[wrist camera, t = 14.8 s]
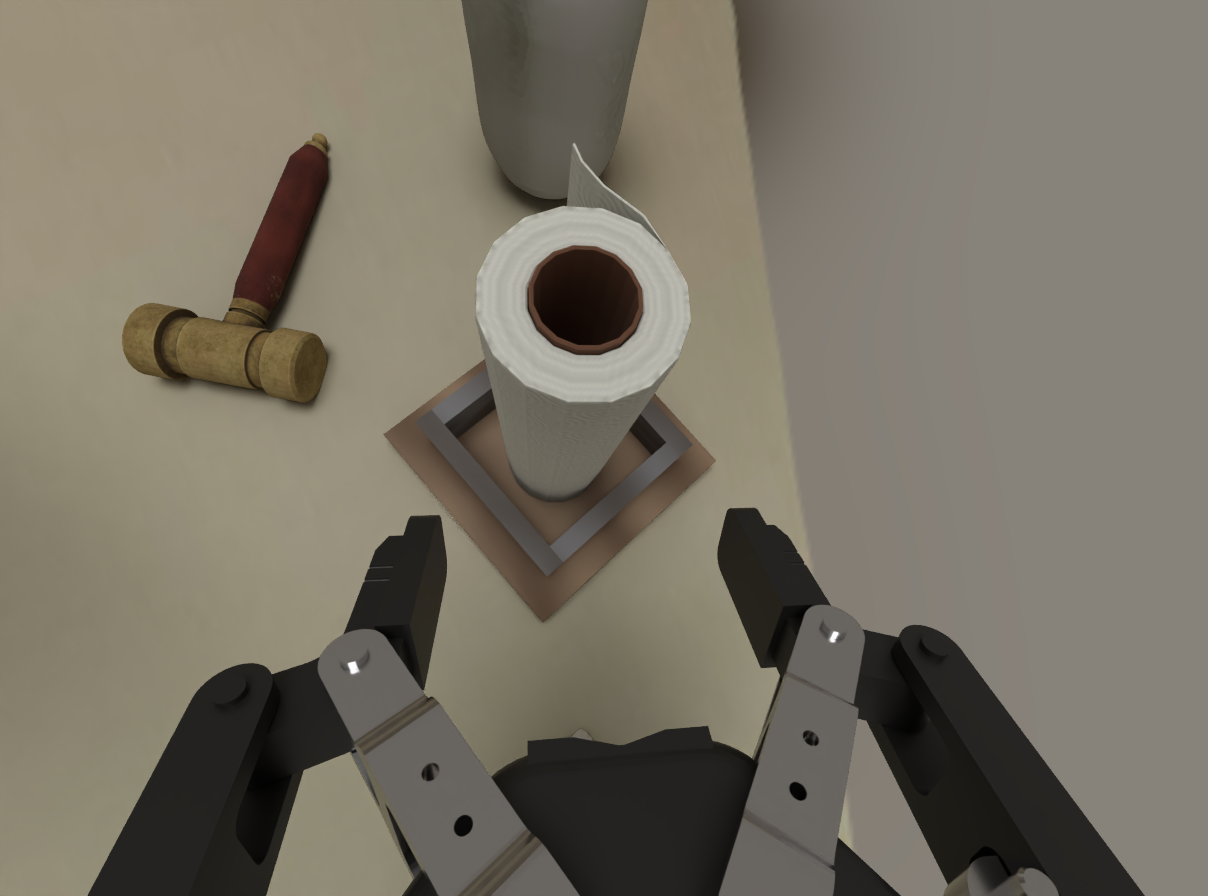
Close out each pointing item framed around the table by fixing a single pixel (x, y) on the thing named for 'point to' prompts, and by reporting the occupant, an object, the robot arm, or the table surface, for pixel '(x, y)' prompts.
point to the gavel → (246, 306)
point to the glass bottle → (552, 83)
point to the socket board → (530, 525)
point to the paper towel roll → (577, 332)
